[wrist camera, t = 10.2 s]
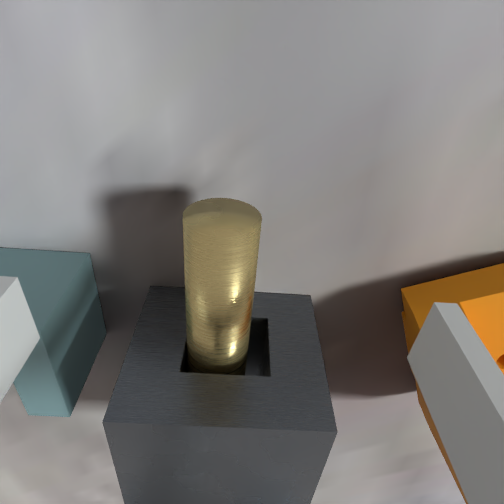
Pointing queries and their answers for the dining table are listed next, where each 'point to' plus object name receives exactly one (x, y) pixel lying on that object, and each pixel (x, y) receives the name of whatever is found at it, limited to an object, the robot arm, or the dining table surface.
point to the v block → (56, 326)
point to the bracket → (474, 308)
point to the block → (222, 410)
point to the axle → (219, 283)
